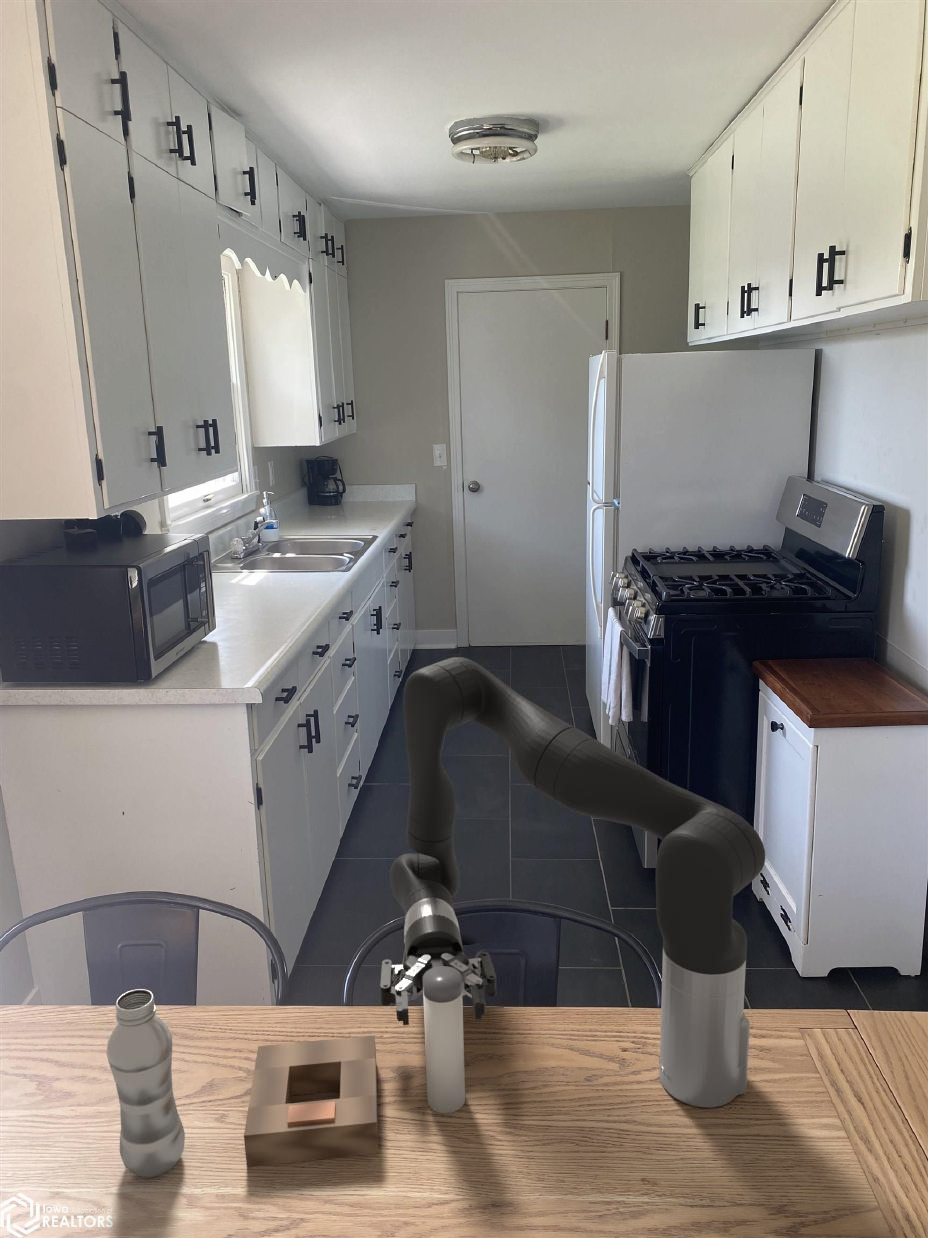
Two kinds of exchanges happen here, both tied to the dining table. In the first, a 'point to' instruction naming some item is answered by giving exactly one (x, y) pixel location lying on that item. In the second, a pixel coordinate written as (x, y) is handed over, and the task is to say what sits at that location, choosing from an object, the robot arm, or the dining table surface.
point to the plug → (444, 1039)
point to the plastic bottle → (144, 1086)
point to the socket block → (312, 1102)
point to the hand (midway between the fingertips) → (442, 1015)
